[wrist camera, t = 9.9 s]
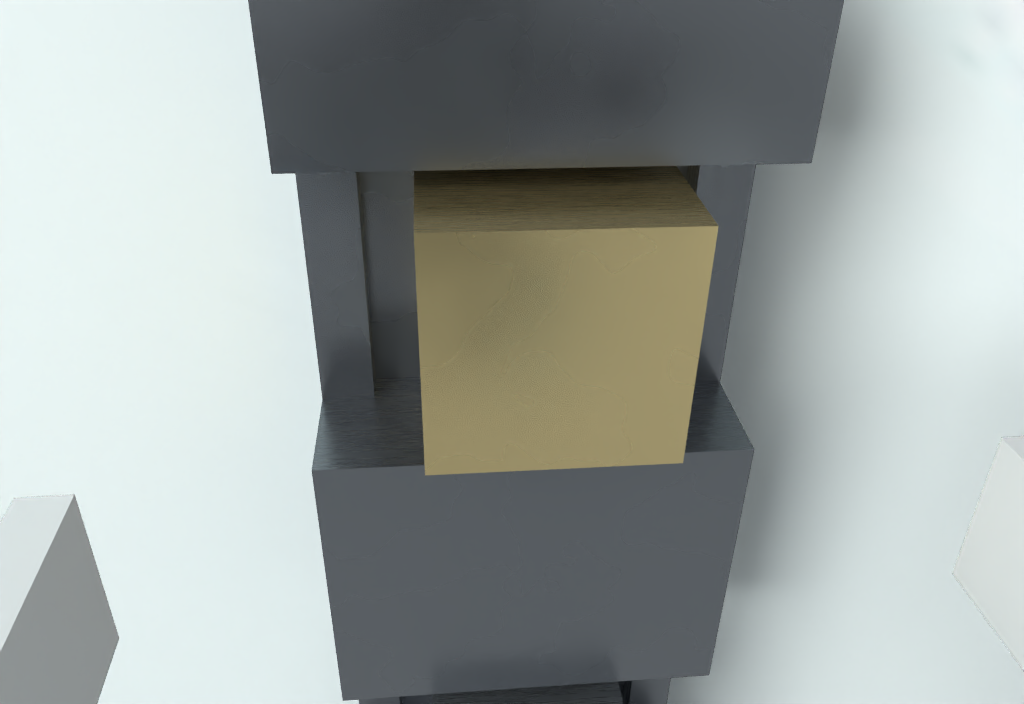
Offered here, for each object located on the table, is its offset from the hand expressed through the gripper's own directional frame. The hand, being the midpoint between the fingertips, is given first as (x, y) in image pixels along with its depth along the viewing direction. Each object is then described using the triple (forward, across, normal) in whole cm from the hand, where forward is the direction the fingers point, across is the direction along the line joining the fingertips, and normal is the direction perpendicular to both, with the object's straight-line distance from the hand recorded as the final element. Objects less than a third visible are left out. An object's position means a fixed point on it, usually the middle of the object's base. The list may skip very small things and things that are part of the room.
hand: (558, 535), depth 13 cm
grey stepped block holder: (+9, -1, +6) cm, 11 cm away
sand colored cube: (+9, -1, -1) cm, 9 cm away
